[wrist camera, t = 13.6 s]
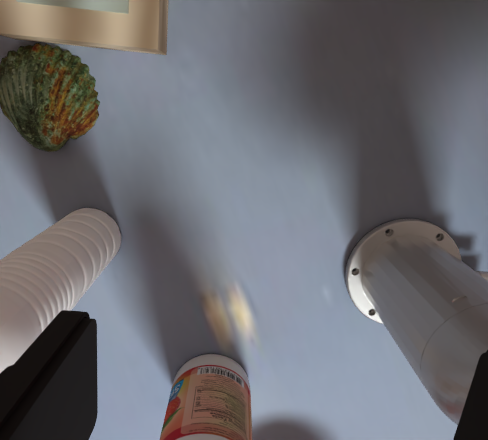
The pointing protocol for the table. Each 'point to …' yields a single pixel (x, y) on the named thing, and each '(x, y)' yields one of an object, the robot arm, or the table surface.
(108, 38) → the plinth
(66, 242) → the water bottle
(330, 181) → the table surface
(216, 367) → the fruit juice
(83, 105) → the seashell
